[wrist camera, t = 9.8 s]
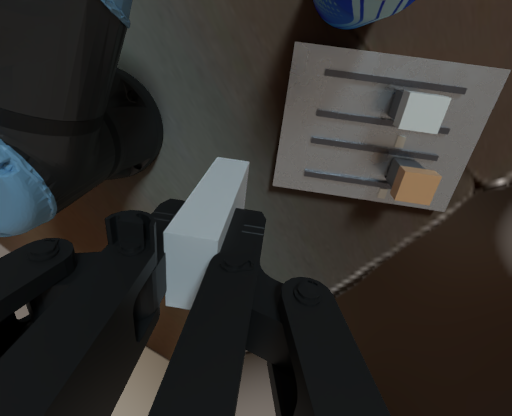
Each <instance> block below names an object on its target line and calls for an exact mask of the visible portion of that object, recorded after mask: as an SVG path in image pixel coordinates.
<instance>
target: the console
mask: <svg viewBox="0 0 512 416" xmlns="http://www.w3.org/2000/svg"><path fill="white" fill-rule="evenodd" d="M510 71H511V70H508V69H501V68H493V67H485V66H478V65H470V64H463V63H455V62H447V61H440V60H432V59H425V58H417V57H409V56H402V55H394V54H387V53H379V52H371V51H364V50H356V49H349V48H341V47H333V46H326V45H318V44H311V43H303V42H295V45H294V51H293V58H292V64H291V71H290V77H289V83H288V90H287V96H286V103H285V109H284V115H283V122H282V128H281V135H280V141H279V147H278V154H277V160H276V167H275V173H274V180H273V186H277V187H284V188H291V189H297V190H304V191H310V192H317V193H324V194H330V195H337V196H343V197H350V198H356V199H363V200H370V201H376V202H383V203H389V204H396V205H403V206H409V207H416V208H422V209H429V210H435V211H442V212H445V209H446V207H447V205H448V203H449V201H450V199H451V197H452V195H453V192H454V190H455V188H456V186H457V184H458V182H459V180H460V178H461V175H462V173H463V171H464V169H465V167H466V165H467V163H468V160H469V158H470V156H471V154H472V152H473V150H474V148H475V146H476V143H477V141H478V139H479V137H480V135H481V133H482V131H483V129H484V126H485V124H486V122H487V120H488V118H489V116H490V114H491V111H492V109H493V107H494V105H495V103H496V101H497V99H498V97H499V94H500V92H501V90H502V88H503V86H504V84H505V82H506V79H507V77H508V75H509V73H510ZM396 90H408V91H415V92H422V93H430V94H437V95H444V96H447V97H450V98H452V99H451V101H450V104H449V106H448V109H447V111H446V114H445V116H444V119H443V121H442V124H441V126H440V129H439V131H438V134H432V133H424V132H417V131H410V130H403V129H398V128H397V127H395V126H394V125H393V122H394V119H392V118H391V117H389V116H388V114H389V111H390V108H391V105H392V102H393V98H394V95H395V92H396ZM393 158H398V159H404V160H411V161H417V162H418V163H419V164H420V165H422V166H423V167H424V168H425V169H428V170H434V171H436V172H437V173H438V174H439V175H440V176H442V178H441V180H440V183H439V185H438V187H437V190H436V192H435V194H434V196H433V199H432V201H431V203H430V206H429V205H422V204H415V203H409V202H402V201H396V200H394V199H393V197H392V196H391V194H390V191H391V189H392V187H391V186H390V184H389V183H388V182H387V180H386V177H387V174H388V171H389V169H390V166H391V163H392V160H393Z"/></svg>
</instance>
